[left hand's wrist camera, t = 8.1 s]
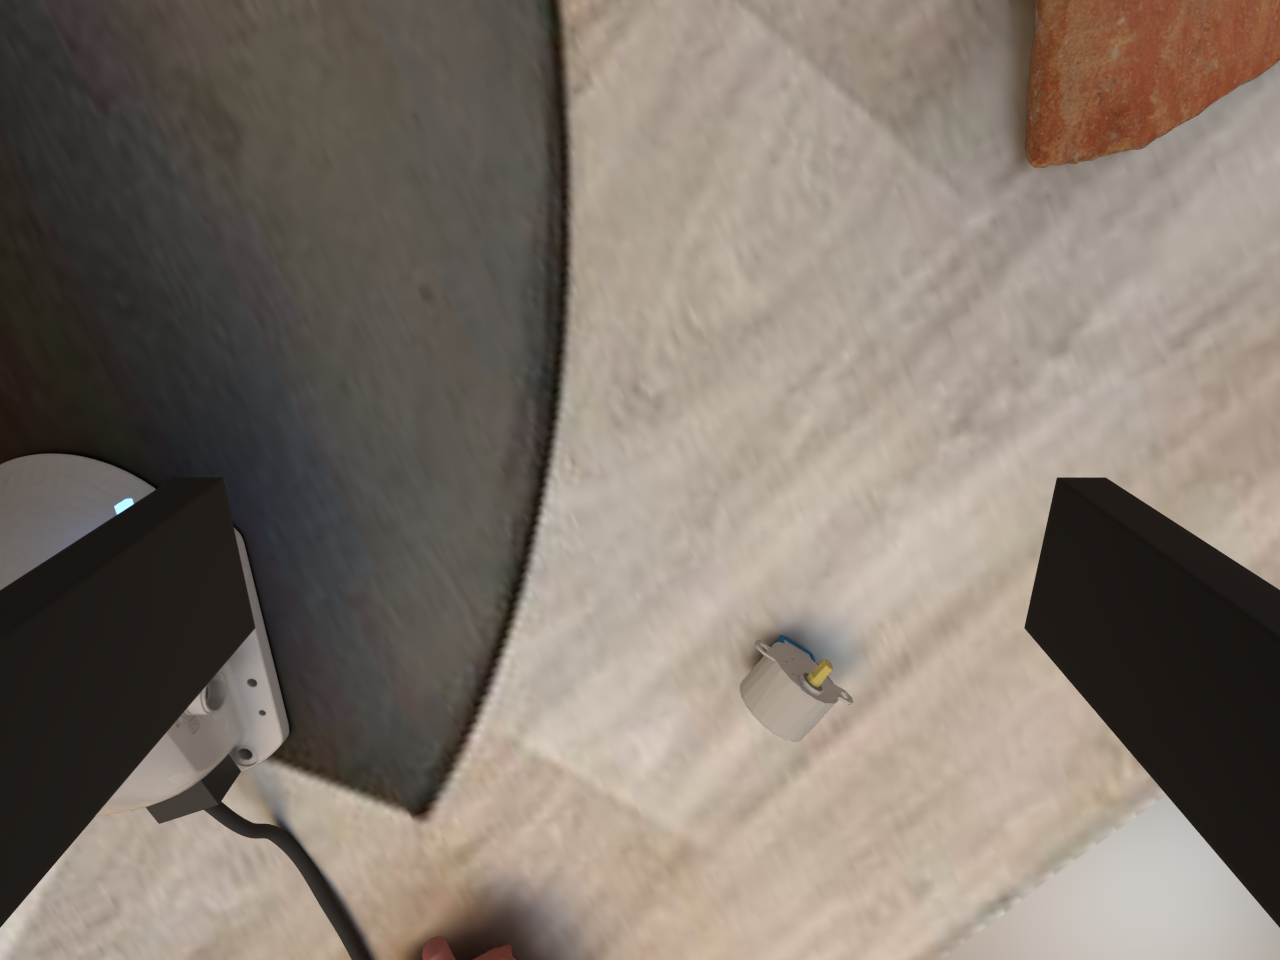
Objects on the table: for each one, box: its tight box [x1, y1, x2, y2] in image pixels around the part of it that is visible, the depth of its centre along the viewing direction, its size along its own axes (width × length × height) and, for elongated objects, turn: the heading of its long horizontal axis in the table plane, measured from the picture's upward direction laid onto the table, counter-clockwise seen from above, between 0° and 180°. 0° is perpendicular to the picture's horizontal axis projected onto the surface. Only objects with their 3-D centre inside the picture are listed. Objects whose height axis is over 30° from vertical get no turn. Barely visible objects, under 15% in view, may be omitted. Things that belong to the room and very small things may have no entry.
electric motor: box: [740, 636, 853, 742], centre depth 44 cm, size 7×5×5 cm
